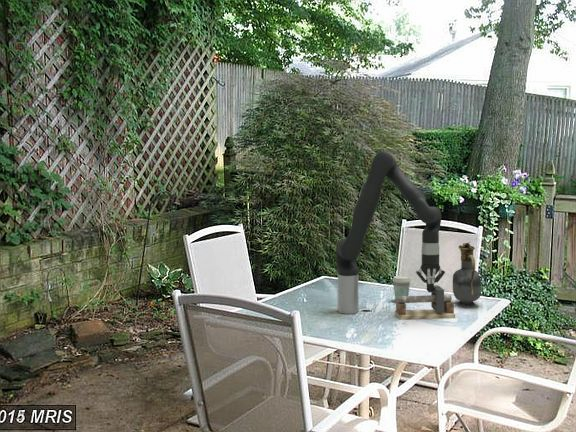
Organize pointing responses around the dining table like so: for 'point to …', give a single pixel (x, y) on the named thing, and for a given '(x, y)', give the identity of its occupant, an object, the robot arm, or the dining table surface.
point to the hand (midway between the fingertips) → (430, 291)
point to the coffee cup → (401, 286)
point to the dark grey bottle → (467, 278)
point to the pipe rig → (426, 313)
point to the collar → (438, 299)
